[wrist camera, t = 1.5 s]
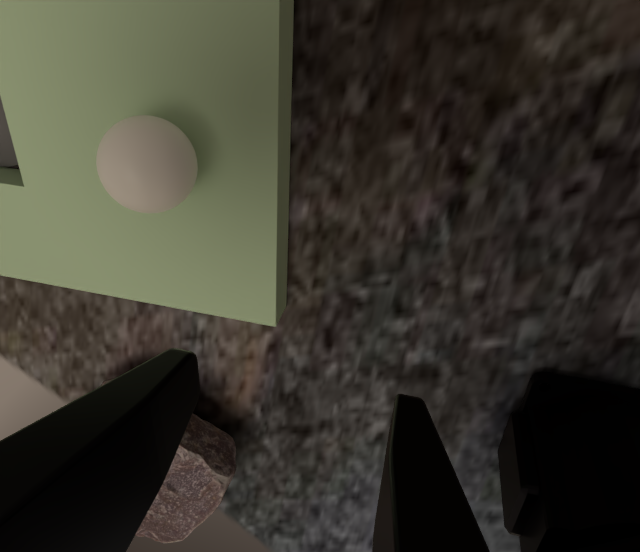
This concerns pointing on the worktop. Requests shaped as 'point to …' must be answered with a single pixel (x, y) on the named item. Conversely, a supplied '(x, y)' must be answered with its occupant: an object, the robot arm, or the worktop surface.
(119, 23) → the board
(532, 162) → the worktop surface
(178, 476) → the rock
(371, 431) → the worktop surface
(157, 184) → the ball
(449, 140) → the worktop surface
